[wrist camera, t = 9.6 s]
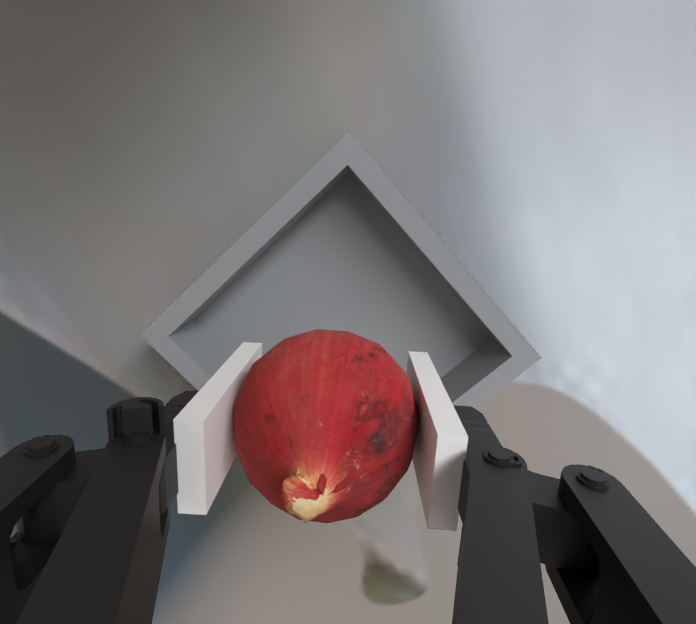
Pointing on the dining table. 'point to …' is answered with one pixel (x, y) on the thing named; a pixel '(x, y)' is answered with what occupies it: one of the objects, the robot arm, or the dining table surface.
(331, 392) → the onion
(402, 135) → the dining table surface
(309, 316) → the box
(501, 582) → the robot arm
